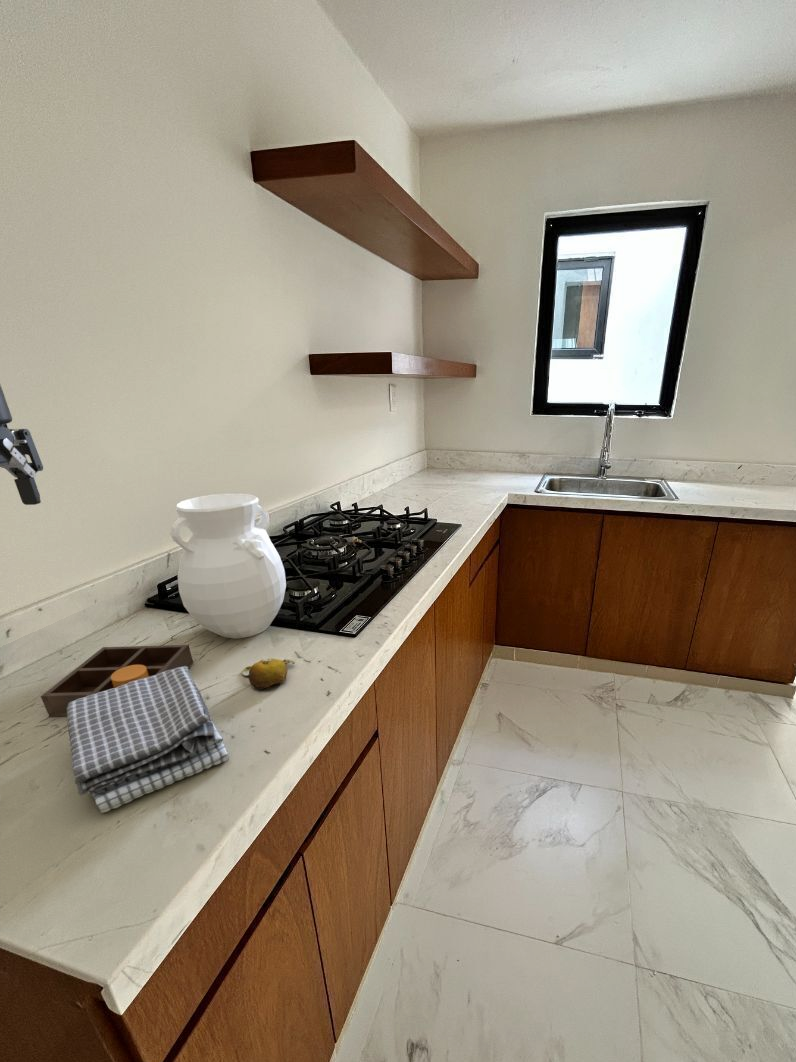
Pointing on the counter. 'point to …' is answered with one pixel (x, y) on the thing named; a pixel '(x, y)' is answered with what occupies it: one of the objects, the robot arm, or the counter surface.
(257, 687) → the yellow rounded lumpy piece
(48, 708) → the grid
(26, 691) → the counter surface
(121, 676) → the orange cylinder
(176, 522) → the white vase
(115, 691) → the towel
